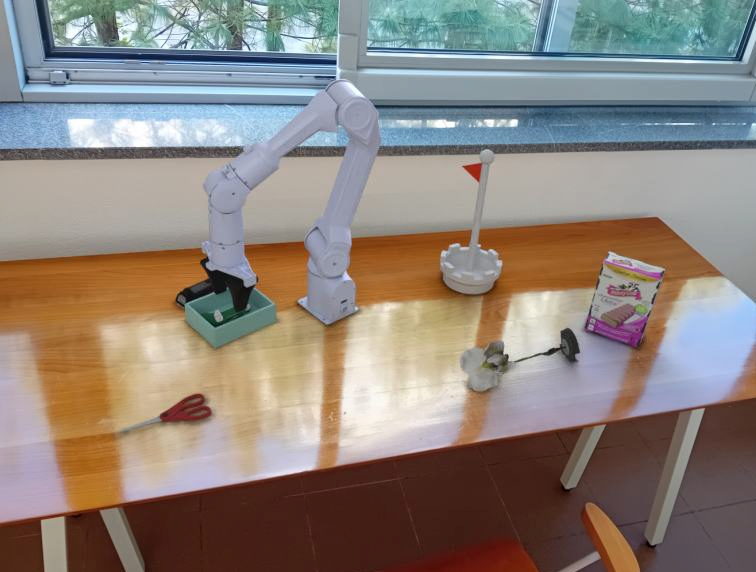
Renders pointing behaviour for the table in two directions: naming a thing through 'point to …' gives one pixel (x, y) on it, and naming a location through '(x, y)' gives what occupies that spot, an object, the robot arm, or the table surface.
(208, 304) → the tub
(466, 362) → the artificial flower
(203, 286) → the electric trimmer
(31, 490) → the table surface
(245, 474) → the table surface
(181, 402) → the scissors
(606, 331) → the candy bar box
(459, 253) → the flag stand
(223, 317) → the gaming controller
